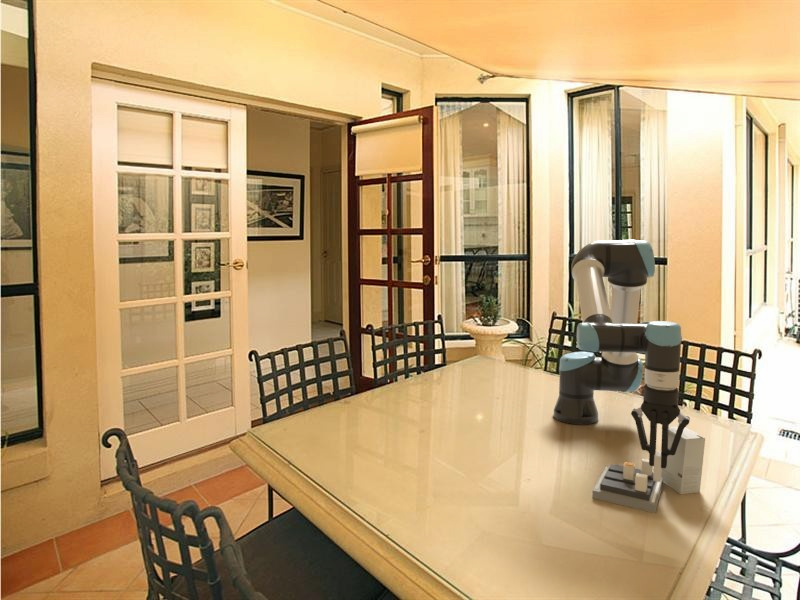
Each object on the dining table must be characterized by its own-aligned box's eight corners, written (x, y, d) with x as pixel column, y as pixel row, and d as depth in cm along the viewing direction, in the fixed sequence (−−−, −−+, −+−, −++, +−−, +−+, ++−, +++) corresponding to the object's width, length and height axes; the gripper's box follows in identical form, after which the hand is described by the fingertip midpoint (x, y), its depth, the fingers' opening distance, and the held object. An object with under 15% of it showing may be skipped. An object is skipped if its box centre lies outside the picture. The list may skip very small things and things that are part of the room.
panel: (592, 498, 129) (592, 484, 128) (605, 472, 142) (606, 460, 142) (654, 513, 121) (655, 498, 121) (662, 485, 135) (663, 472, 134)
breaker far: (641, 473, 133) (641, 460, 133) (642, 470, 135) (642, 457, 135) (651, 475, 132) (651, 462, 132) (652, 472, 134) (652, 459, 133)
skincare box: (659, 480, 137) (661, 426, 136) (679, 478, 138) (682, 424, 137) (681, 495, 129) (684, 438, 127) (703, 493, 130) (706, 436, 128)
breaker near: (634, 490, 125) (635, 476, 125) (636, 486, 127) (636, 472, 126) (645, 492, 124) (646, 478, 123) (647, 488, 125) (647, 475, 125)
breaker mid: (623, 478, 131) (623, 464, 131) (624, 475, 133) (624, 461, 132) (633, 480, 130) (633, 466, 129) (634, 477, 131) (635, 463, 131)
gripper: (629, 386, 125) (626, 479, 128) (691, 393, 118) (686, 492, 121) (634, 378, 131) (631, 467, 134) (693, 385, 125) (688, 479, 127)
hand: (657, 479), depth 128 cm, fingers closed
